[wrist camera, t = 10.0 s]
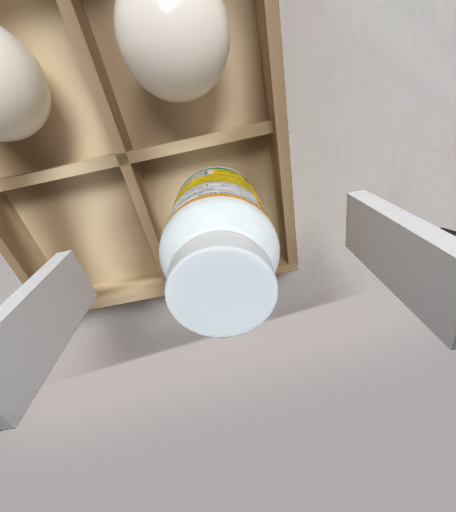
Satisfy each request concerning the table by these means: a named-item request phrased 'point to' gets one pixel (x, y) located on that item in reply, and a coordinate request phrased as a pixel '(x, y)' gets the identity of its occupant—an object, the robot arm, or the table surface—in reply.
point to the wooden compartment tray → (135, 146)
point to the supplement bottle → (219, 255)
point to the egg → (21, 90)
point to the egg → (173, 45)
